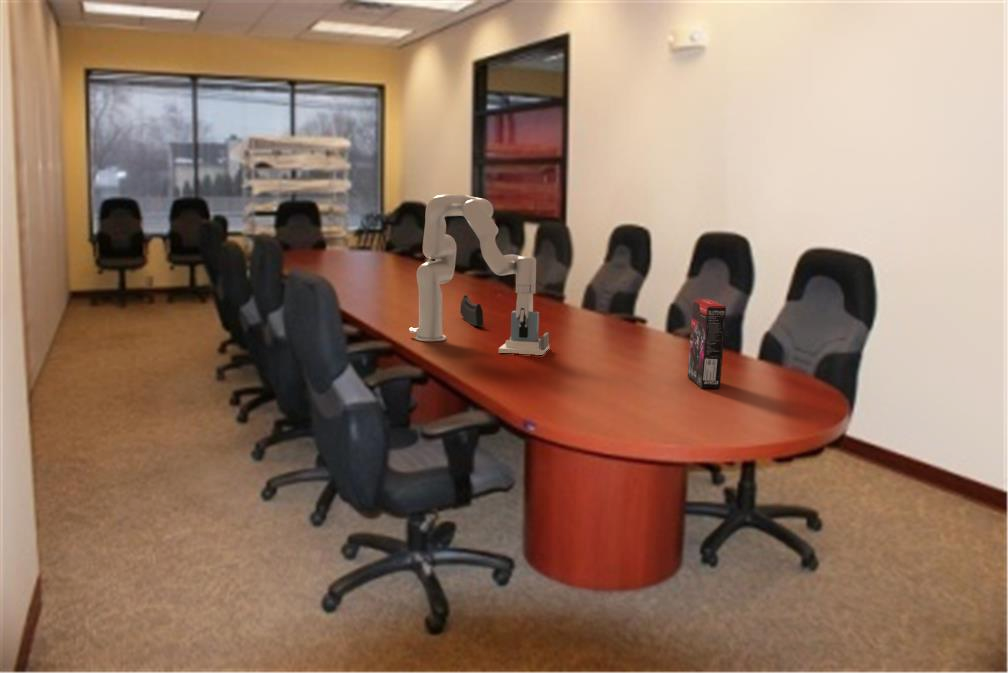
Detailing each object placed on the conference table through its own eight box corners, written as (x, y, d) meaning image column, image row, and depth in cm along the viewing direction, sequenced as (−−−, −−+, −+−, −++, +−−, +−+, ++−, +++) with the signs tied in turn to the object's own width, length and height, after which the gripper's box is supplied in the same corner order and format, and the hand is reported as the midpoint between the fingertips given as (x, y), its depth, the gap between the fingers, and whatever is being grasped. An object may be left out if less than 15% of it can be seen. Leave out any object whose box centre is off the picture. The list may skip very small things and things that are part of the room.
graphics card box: (686, 377, 303) (690, 298, 298) (706, 377, 304) (710, 298, 299) (701, 389, 287) (706, 305, 282) (722, 389, 287) (727, 306, 282)
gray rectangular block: (510, 343, 342) (511, 312, 339) (512, 341, 345) (513, 310, 343) (536, 344, 339) (537, 313, 337) (538, 342, 343) (539, 312, 341)
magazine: (485, 309, 388) (469, 281, 414) (478, 309, 387) (462, 281, 413) (481, 343, 396) (466, 314, 421) (474, 344, 395) (459, 314, 420)
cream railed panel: (498, 353, 338) (499, 335, 337) (506, 346, 351) (507, 329, 350) (542, 356, 334) (543, 338, 333) (549, 349, 348) (549, 331, 346)
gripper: (520, 286, 347) (519, 332, 351) (511, 291, 331) (510, 339, 335) (539, 286, 346) (538, 333, 349) (530, 292, 330) (529, 340, 333)
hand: (524, 335), depth 342 cm, fingers closed on gray rectangular block, 4 cm apart
